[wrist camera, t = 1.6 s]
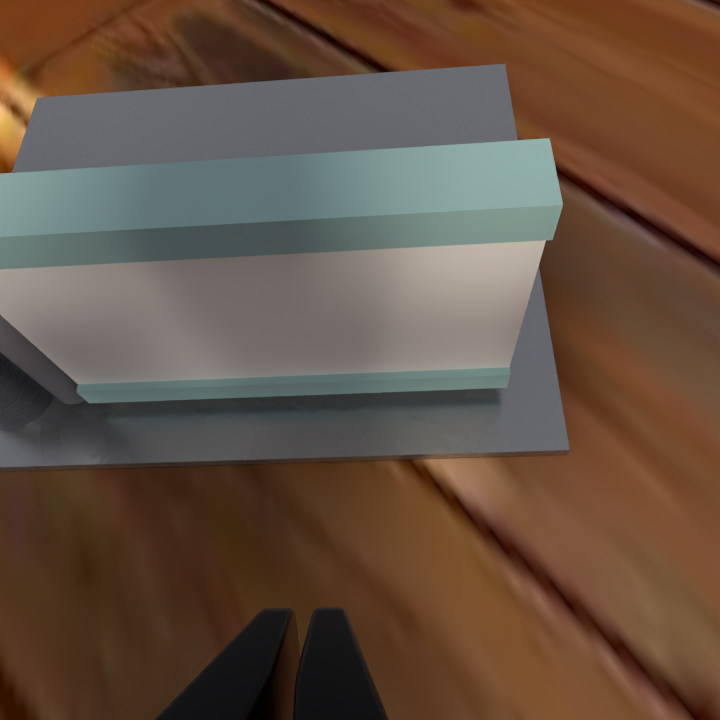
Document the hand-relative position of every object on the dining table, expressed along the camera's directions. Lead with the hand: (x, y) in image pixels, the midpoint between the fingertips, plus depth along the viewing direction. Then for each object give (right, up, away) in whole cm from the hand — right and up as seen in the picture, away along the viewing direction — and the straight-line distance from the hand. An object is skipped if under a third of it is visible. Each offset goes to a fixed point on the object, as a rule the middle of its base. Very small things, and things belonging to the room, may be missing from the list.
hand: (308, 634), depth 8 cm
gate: (-3, +3, +15) cm, 15 cm away
